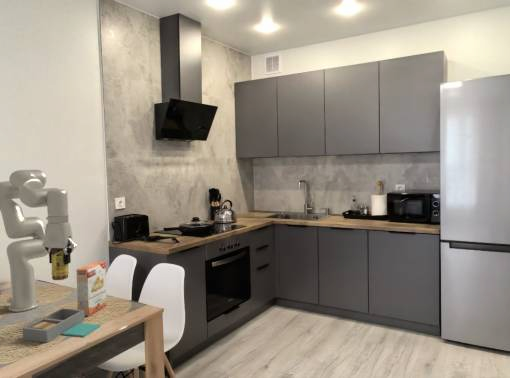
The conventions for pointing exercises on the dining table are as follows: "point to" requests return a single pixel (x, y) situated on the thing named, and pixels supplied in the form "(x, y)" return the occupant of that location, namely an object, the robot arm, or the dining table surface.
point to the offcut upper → (44, 325)
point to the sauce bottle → (59, 265)
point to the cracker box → (91, 287)
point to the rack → (60, 318)
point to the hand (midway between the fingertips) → (60, 262)
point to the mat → (81, 330)
